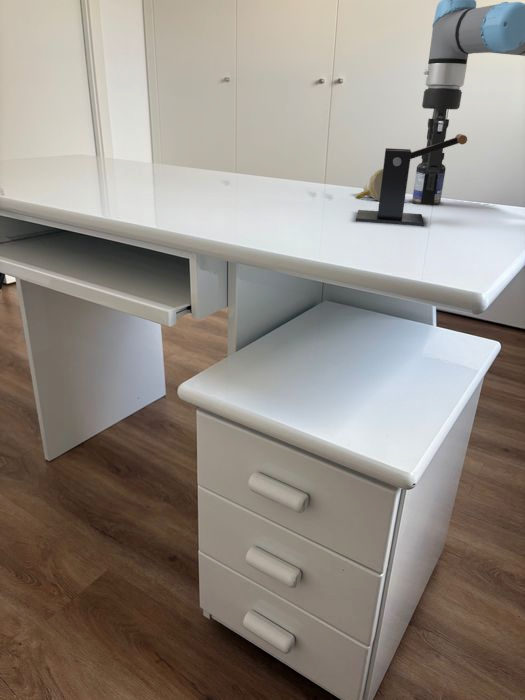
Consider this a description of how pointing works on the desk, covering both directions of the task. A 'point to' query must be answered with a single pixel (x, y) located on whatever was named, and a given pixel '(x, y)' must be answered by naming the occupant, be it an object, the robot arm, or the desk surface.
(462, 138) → the lever
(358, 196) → the tan rounded piece
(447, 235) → the desk surface
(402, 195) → the bracket
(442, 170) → the pill bottle
